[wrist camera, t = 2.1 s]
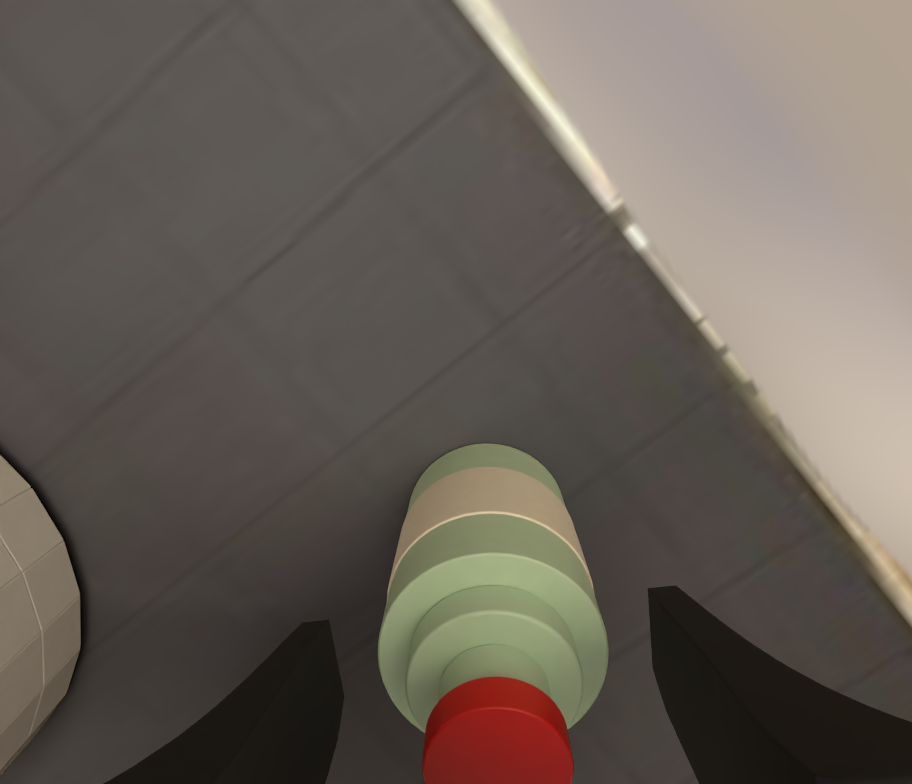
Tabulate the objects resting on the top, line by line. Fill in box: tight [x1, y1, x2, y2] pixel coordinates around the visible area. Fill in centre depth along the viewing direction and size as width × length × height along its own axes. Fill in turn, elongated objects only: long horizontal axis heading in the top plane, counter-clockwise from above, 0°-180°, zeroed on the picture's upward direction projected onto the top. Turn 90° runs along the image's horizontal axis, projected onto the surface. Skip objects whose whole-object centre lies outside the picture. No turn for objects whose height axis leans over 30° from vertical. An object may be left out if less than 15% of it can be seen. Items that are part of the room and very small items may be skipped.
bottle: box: [378, 443, 609, 784], centre depth 16 cm, size 5×5×10 cm
